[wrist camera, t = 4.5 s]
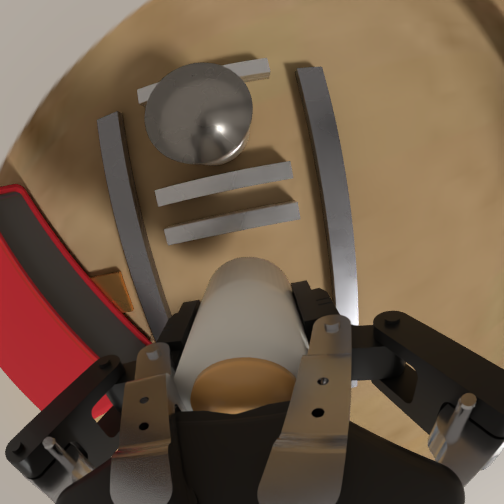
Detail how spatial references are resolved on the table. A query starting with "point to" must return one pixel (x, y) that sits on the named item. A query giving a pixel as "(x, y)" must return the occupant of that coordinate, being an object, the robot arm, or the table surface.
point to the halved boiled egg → (242, 341)
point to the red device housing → (51, 308)
